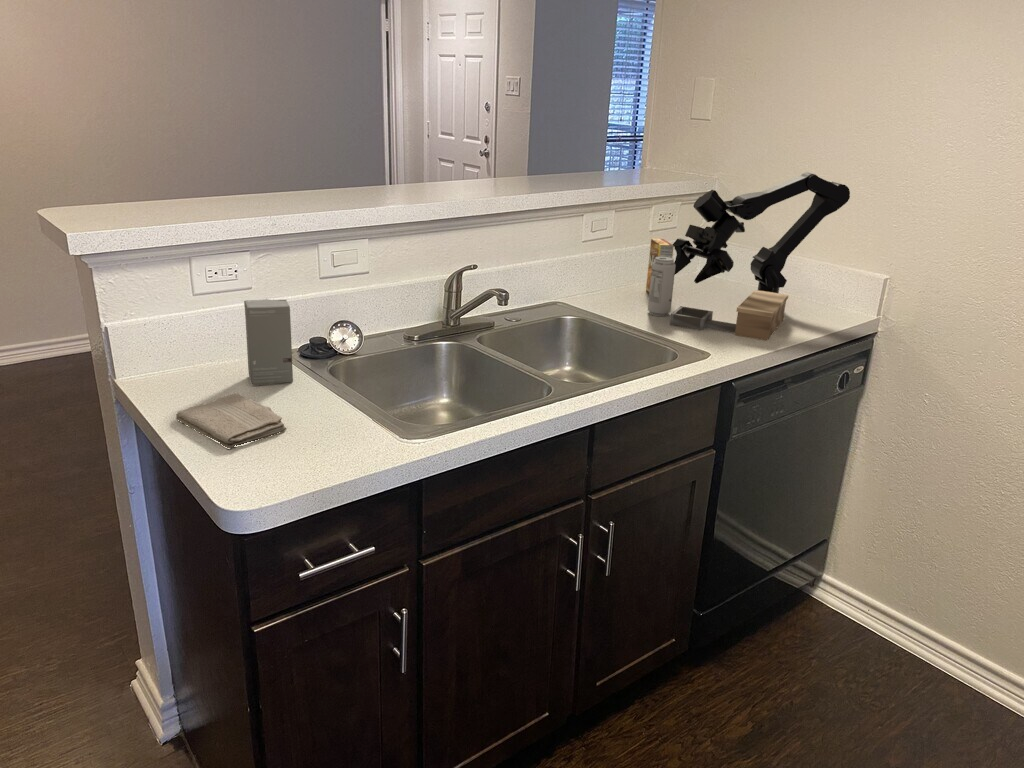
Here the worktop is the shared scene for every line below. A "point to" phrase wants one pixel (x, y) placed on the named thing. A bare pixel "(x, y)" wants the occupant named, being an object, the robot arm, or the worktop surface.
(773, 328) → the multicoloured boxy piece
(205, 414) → the washcloth
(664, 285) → the energy drink can
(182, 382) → the worktop surface
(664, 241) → the candy box
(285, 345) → the skincare box
